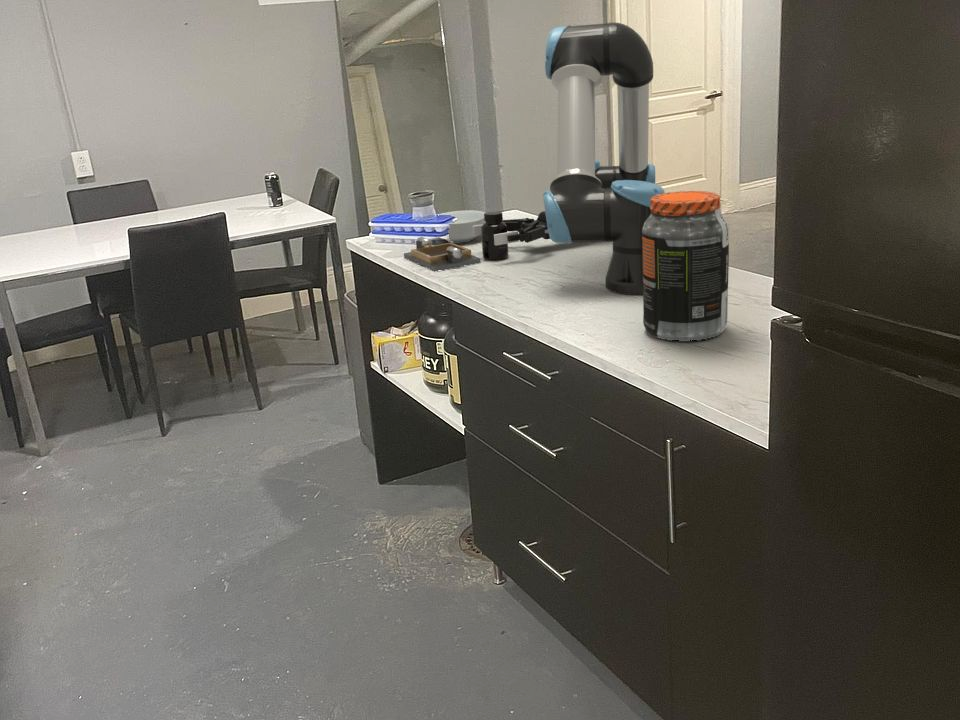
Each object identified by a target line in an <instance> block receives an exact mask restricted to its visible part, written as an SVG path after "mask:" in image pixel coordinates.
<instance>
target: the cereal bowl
mask: <svg viewBox="0 0 960 720" xmlns="http://www.w3.org/2000/svg"><path fill="white" fill-rule="evenodd" d="M484 213H486V212H485V211H481V210H472V209H471V210H469V209H468V210H456V211H455V210H454V211H447V212H442V213H438V214H437V215H438V216H439V215H451V216H454V217H456V218H457V221H456V223H448V224H449V225H450V228H449V230H448V233H449V239H450V240H451V241H453V242H465V243H468V242H467V241H469V242H472V241H474V239H475V238H477V237H478V236H473V226H476V225H482V224H484V223H485V221H484ZM471 240H472V241H471Z"/></svg>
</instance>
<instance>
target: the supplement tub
mask: <svg viewBox="0 0 960 720" xmlns="http://www.w3.org/2000/svg"><path fill="white" fill-rule="evenodd" d="M650 209H651V212H652V213H651V215H650V216H649V217H648V218H647V220H646V221H645V223H644V225H643V229H642V253H643V294H642V299H643V302H642V303H643V306H642V307H643V315H642V316H643V320H642V323H643V326H644V328H645V330H646V331H647V333H649V334H650V335H651V336H652V337H655V338H657V339H660V338H661V340H665V339H667V340H666V341H672V340H679V341H678V342H693V341H692V340H697V341H702V340H701V339H705V340H707V339H706V338H710V337H713V338H715V337H714V336H716V335H717V336H719V335H720V333H721V334H722V333H723V332H724V331H725V329H726V328H727V325H728V314H729V312H728V311H729V310H728V309H729V308H728V305H729V269H730V267H729V265H730V264H729V258H730V227H729V223H728V220H727V219H726V217H725V216H724V214H723V212H722V211H721V210H722V209H721V197H720V194H718V193H716V192H712V191H702V190H684V191H683V190H681V191H670V192H665V193H663V194H659V195H655V196H653V197H652V198H651V206H650ZM717 336H716V337H717ZM710 339H711V338H710ZM690 340H691V341H690Z"/></svg>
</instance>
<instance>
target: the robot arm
mask: <svg viewBox="0 0 960 720" xmlns="http://www.w3.org/2000/svg"><path fill="white" fill-rule="evenodd" d="M544 61H545V62H544V70H545V76H546V78H547V79H549V80H551V84H552V86H553V87H554V88H555V89H556V90H557V131H556V133H557V137H556V142H557V145H556V146H557V149H556V150H557V151H556V177H555V178H553V179H552V180H551V182H550V183H549V185H550V186H549V189H547V190H546V191H544V192H543V193H542V195H543V196H542V197H543V204H544V205H543V206H544V210H543V211H541V212H540V213H539V214H538V215H537V219H535V218H529V217H525V218H524V217H523V218H516V219H515V218H514V219H503V220H502V222H504V223H505V224H506V225H507V232H506V233H500V234H494V245H502V244H508V245H509V244H512V243H518V242H521V243H524V242H525V243H527V244H528V243H531V242H533V241H536V240H539V239H543V240H551V241H552V242H553V243H556V244H569V245H571V244H577V243H579V244H581V243H603V242H604V243H605V242H611V243H612V255H611V258H610V262H609V263H608V264H609V265H608V268H607V271H606V275H605V288H606V289H607V290H608V291H610V292H613V293H618V294H621V295H622V294H623V295H643V253H642V229H643V225H644V223H645V221H646V220H647V218H648V217H649V216H650V215H651V213H652V212H651V209H650V206H651V198H652V197H653V196H655V195H659V194H663V193H666V192H665V189H664V188H663V187H662V186H660V184H659V185H658V184H657V183H656V166H655V164H651V163H649V117H650V116H649V113H650V111H649V110H650V109H649V106H650V105H649V103H650V84H651V82H652V81H653V79H654V62H653V57H652V53H651V52H650V49H649V47H648V45H647V43H646V42H645V40H644V39H643V38H642V36H641V35H640V34H639V33H638V32H637V31H636V30H634V28H631V27H630V26H629V25H626V24H624V23H620V22H613V21H612V22H608V23H592V24H583V25H582V24H581V25H580V24H579V25H565V26H558V27H557V26H556V27H554V28H552V29H551V30H550V32H549V34H548V36H547V41H546V46H545V59H544ZM602 76H604V77H605V76H612V82H613V83H614V84H615V86H617V90H616V91H617V93H616V94H617V125H618V126H617V130H618V132H617V133H618V165H611V166H609V165H607V166H606V165H605V166H604V165H603V166H601V164H600V163H601V162H600V160H598V159H596V89H597V88H598V87H599V86H600V84H601V82H602ZM482 225H483V224H482ZM482 225H476V226H473V236H477V237H479V236H481V226H482Z"/></svg>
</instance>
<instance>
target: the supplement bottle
mask: <svg viewBox="0 0 960 720" xmlns="http://www.w3.org/2000/svg"><path fill="white" fill-rule="evenodd" d="M502 220H504V218H503V212H502V211H489V212H488V211H487V212H485V213H484V221H485V223H484V224H483V225H482V226H481V235H480V236H481V249H482V251H481V252H482V258H483V260H485V261H489V262H491V261H492V262H493V261H502V260H506V259H508V257H509V243H508V244H502V245H494V234H500V233H506V232H508V231H507V225H506V224H505V223H504V222H502Z"/></svg>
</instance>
